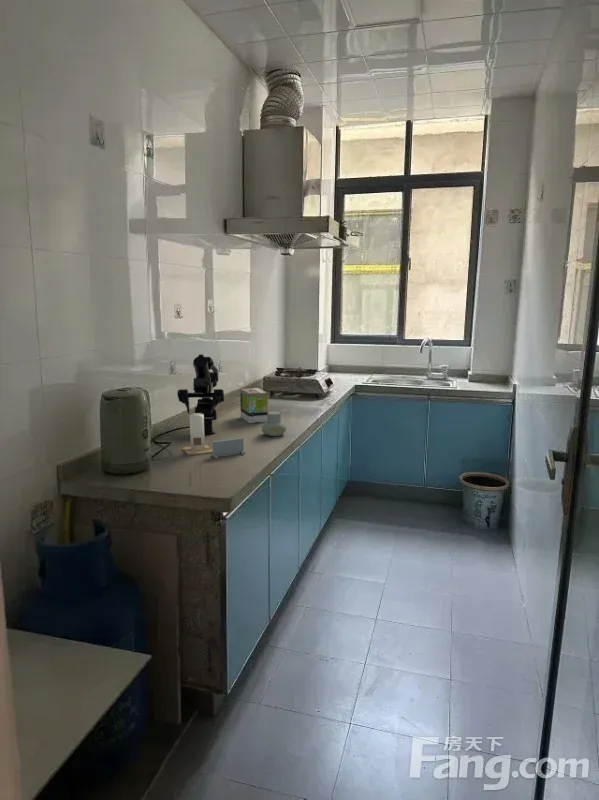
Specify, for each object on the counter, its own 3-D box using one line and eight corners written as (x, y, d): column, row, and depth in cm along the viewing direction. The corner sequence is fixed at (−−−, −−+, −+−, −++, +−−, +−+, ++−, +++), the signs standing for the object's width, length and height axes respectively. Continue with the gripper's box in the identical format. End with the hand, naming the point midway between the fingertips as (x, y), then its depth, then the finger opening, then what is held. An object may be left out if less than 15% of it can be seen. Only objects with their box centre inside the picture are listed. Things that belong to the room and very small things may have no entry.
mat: (182, 449, 215) (182, 447, 215) (206, 446, 219) (206, 444, 219) (189, 455, 206) (189, 454, 206) (214, 452, 210) (214, 451, 210)
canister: (191, 447, 215) (189, 413, 212) (205, 446, 216) (203, 412, 213) (190, 451, 209) (189, 416, 206) (205, 451, 210) (203, 416, 207)
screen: (211, 455, 206) (211, 440, 205) (241, 451, 212) (241, 436, 210) (215, 458, 203) (214, 443, 202) (244, 454, 208) (244, 439, 207)
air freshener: (263, 438, 231) (263, 415, 229) (260, 433, 239) (259, 411, 237) (288, 436, 234) (288, 414, 232) (283, 431, 242) (283, 410, 240)
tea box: (268, 422, 260) (268, 392, 257) (248, 423, 257) (247, 393, 254) (259, 415, 274) (258, 387, 271) (240, 417, 270) (239, 388, 267)
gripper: (177, 370, 220) (173, 401, 211) (222, 369, 220) (221, 401, 212) (181, 385, 229) (177, 416, 220) (225, 385, 230) (223, 416, 221)
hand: (199, 412), depth 218 cm, fingers open, 9 cm apart
